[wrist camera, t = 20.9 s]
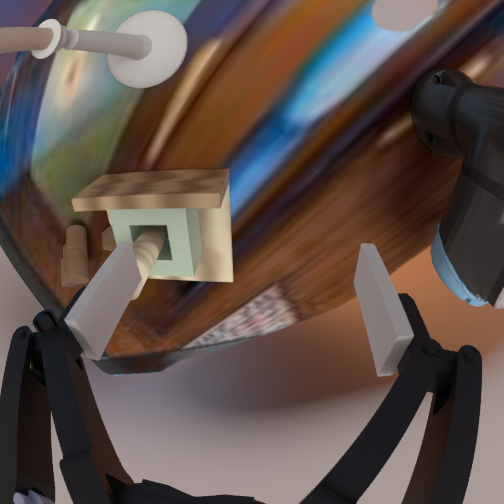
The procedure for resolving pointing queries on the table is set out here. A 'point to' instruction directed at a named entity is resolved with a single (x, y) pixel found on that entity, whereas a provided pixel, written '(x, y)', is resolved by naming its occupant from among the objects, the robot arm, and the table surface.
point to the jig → (174, 196)
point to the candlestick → (112, 45)
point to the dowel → (148, 251)
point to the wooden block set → (80, 254)
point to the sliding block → (177, 245)
